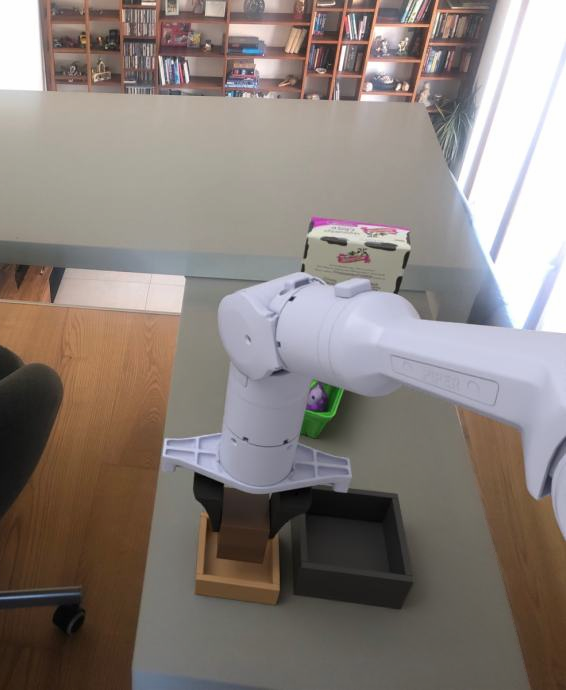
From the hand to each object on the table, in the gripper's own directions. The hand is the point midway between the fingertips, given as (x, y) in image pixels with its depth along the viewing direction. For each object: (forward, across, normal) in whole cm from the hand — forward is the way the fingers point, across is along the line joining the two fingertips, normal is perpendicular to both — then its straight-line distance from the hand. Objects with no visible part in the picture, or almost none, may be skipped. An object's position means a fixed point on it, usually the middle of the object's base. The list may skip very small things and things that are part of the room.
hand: (243, 526), depth 60 cm
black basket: (+6, -10, -2) cm, 12 cm away
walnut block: (+2, 0, 0) cm, 2 cm away
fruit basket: (+6, -7, -22) cm, 24 cm away
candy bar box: (+6, -11, -34) cm, 36 cm away
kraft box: (+6, 0, 0) cm, 6 cm away
